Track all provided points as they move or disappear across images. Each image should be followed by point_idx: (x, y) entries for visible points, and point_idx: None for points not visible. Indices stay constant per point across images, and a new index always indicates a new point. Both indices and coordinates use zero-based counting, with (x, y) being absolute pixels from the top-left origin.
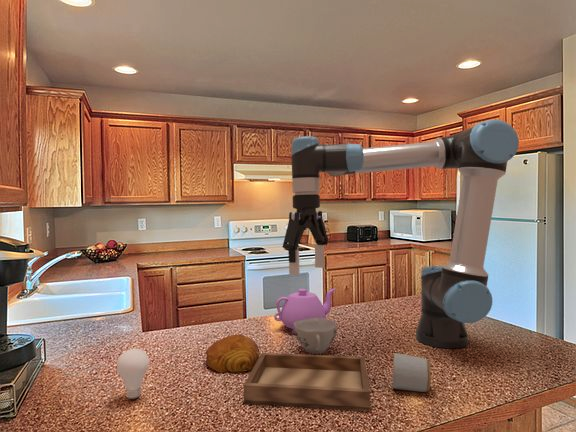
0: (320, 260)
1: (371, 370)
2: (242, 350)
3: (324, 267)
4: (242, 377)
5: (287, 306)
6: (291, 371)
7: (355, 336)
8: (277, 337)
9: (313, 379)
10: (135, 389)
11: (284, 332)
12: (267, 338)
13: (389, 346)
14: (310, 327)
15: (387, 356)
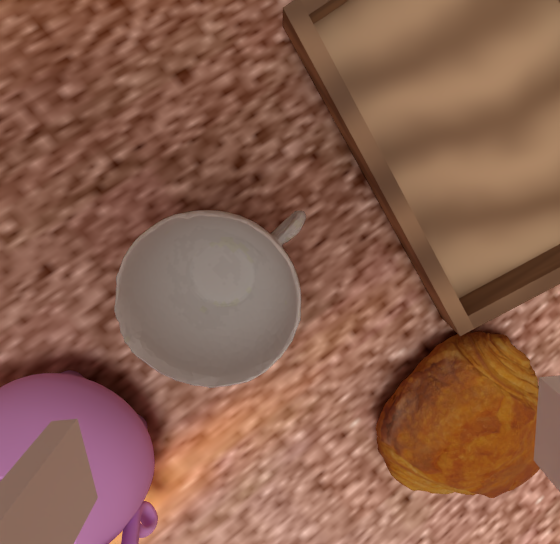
0: (47, 502)
1: (249, 17)
2: (508, 381)
3: (51, 421)
4: (522, 317)
5: (116, 521)
6: (435, 218)
7: (7, 237)
8: (211, 441)
9: (447, 126)
10: None
11: (157, 454)
12: (240, 459)
13: (2, 73)
14: (171, 347)
15: (98, 30)
